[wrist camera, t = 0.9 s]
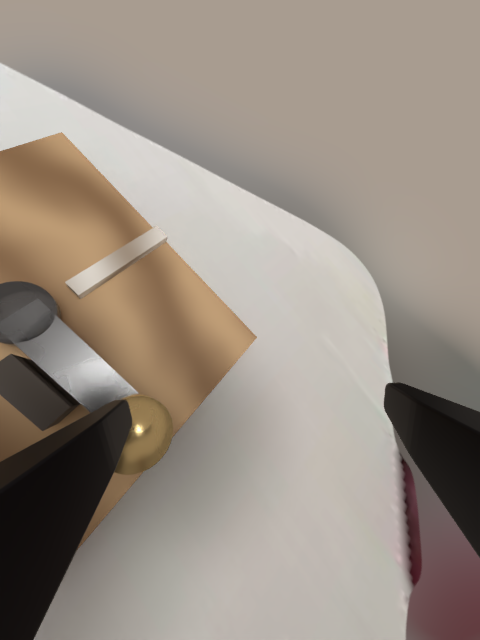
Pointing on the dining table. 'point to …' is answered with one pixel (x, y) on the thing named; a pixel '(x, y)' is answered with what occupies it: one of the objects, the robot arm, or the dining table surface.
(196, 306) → the lock plate
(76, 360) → the two-tone long knobbed bar
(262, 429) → the dining table surface
